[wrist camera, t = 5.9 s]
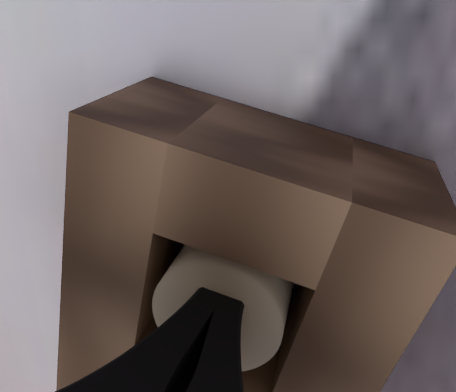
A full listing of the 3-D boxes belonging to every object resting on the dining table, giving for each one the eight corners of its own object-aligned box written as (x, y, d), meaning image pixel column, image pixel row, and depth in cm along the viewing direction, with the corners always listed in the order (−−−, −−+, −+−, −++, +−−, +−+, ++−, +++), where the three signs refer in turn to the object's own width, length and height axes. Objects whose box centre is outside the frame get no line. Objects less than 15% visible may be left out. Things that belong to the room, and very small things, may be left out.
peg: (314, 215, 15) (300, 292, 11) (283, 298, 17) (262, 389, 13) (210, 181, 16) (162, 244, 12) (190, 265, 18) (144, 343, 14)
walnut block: (434, 161, 14) (470, 240, 10) (271, 489, 23) (251, 603, 19) (151, 76, 15) (68, 111, 11) (104, 419, 25) (51, 512, 20)
